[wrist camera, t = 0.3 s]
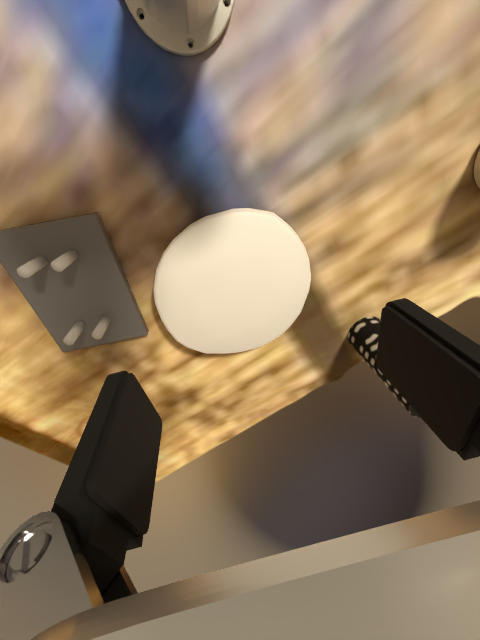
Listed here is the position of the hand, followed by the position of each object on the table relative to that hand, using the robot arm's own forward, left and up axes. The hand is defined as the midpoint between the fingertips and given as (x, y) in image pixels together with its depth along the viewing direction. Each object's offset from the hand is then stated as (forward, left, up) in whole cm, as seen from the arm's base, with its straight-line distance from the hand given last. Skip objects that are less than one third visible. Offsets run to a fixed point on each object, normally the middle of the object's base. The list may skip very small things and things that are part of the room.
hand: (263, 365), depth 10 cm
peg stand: (+8, -25, -36) cm, 45 cm away
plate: (+13, +1, -37) cm, 39 cm away
